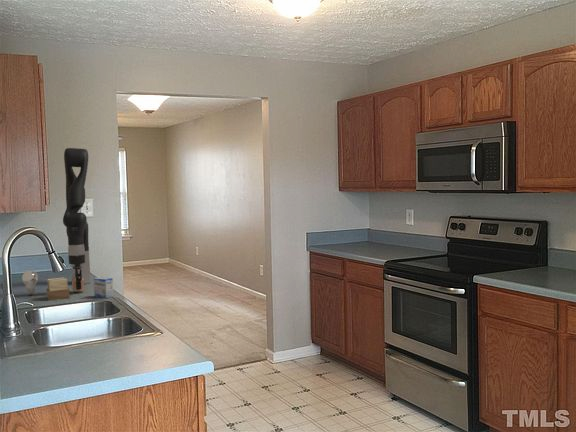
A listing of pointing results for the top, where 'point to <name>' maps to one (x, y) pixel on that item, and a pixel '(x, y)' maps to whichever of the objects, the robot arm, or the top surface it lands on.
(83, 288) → the cube
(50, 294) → the tower bottom
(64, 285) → the tower top
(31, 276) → the light bulb
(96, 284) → the medicine box
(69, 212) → the robot arm
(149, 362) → the top surface
